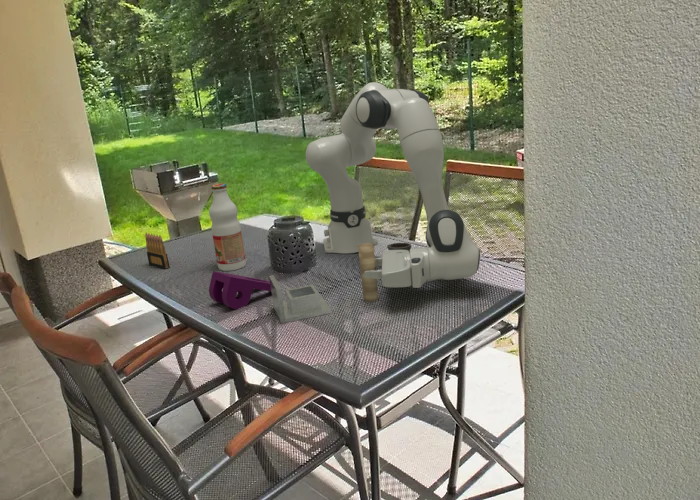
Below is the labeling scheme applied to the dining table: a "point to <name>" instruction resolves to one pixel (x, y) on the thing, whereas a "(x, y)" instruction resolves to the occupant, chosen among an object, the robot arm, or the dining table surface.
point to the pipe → (399, 246)
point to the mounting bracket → (234, 289)
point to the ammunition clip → (156, 251)
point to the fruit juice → (226, 230)
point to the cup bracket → (297, 302)
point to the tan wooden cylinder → (368, 264)
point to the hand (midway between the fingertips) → (364, 269)
